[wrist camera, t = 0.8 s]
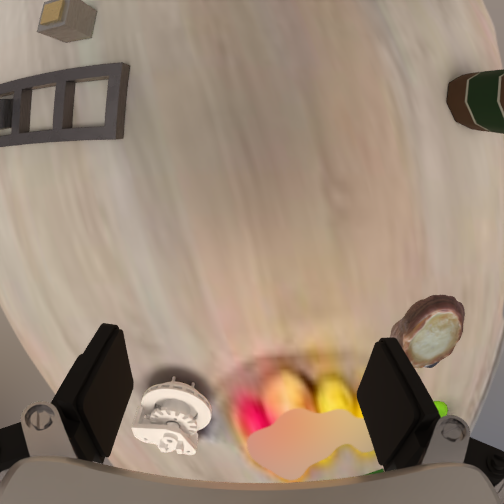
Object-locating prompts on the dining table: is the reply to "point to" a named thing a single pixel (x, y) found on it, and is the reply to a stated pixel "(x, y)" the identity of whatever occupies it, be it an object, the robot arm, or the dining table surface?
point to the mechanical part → (172, 417)
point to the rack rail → (67, 104)
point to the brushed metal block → (67, 20)
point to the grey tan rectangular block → (6, 113)
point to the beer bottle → (478, 100)
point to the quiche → (430, 330)
